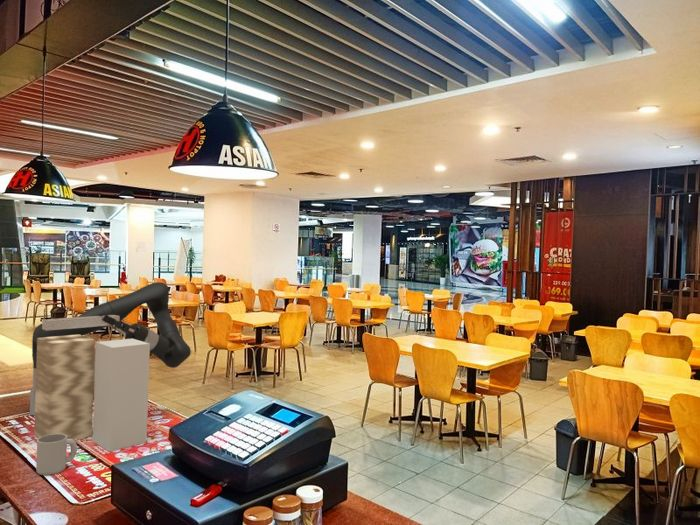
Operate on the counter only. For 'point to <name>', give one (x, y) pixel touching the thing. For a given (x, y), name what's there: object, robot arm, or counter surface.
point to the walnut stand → (64, 386)
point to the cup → (53, 453)
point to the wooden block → (75, 322)
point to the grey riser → (121, 393)
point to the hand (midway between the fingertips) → (101, 316)
